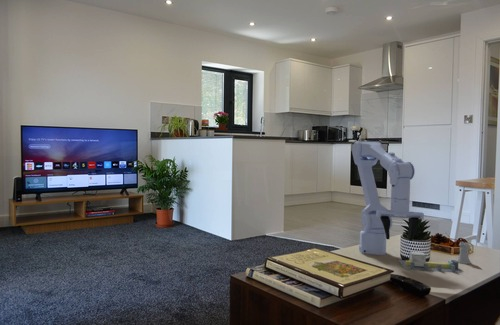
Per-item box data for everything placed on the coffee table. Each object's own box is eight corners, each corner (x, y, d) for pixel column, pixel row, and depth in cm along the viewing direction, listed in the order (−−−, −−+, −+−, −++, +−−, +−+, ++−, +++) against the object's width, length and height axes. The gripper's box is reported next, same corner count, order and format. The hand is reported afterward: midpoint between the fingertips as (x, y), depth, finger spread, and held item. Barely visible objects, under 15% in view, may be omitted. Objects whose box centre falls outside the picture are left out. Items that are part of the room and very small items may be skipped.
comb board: (404, 272, 118) (404, 261, 118) (397, 263, 128) (398, 253, 128) (462, 276, 115) (462, 265, 115) (450, 267, 125) (451, 257, 125)
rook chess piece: (469, 264, 128) (470, 241, 128) (472, 268, 124) (473, 244, 124) (454, 263, 130) (455, 240, 129) (457, 266, 125) (458, 243, 125)
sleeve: (412, 265, 120) (412, 254, 120) (409, 262, 124) (409, 251, 124) (425, 266, 120) (425, 255, 119) (421, 263, 123) (422, 252, 123)
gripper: (379, 199, 120) (378, 240, 120) (427, 201, 117) (425, 243, 118) (375, 196, 127) (374, 236, 127) (420, 198, 124) (419, 238, 124)
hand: (398, 239), depth 123 cm, fingers open, 6 cm apart
